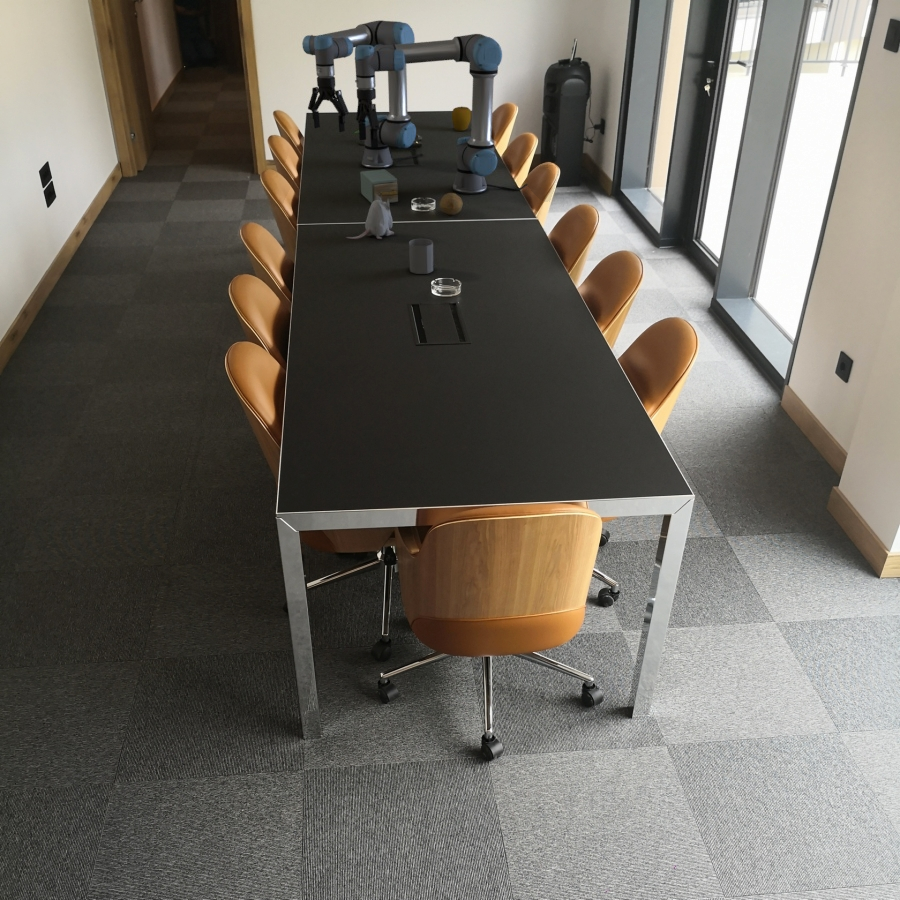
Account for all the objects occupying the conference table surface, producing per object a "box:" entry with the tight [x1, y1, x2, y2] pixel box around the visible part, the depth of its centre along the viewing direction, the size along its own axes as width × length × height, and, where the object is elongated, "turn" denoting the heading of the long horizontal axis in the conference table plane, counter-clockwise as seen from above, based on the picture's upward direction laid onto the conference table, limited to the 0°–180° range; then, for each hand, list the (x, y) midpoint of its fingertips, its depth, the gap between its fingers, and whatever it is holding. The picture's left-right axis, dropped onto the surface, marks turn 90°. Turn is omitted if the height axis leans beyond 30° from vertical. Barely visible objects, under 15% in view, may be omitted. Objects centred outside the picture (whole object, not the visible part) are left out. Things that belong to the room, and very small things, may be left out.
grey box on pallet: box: [359, 168, 399, 204], centre depth 379 cm, size 17×11×10 cm, turn 21°
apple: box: [451, 105, 472, 132], centre depth 487 cm, size 11×11×13 cm
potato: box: [439, 192, 464, 216], centre depth 360 cm, size 10×14×8 cm
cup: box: [408, 237, 434, 275], centre depth 305 cm, size 8×8×10 cm
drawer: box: [374, 181, 399, 203], centre depth 375 cm, size 21×10×8 cm, turn 21°
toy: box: [345, 195, 395, 240], centre depth 331 cm, size 9×24×15 cm, turn 137°
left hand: (329, 129), depth 373 cm, fingers open, 13 cm apart
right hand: (368, 143), depth 355 cm, fingers open, 13 cm apart
